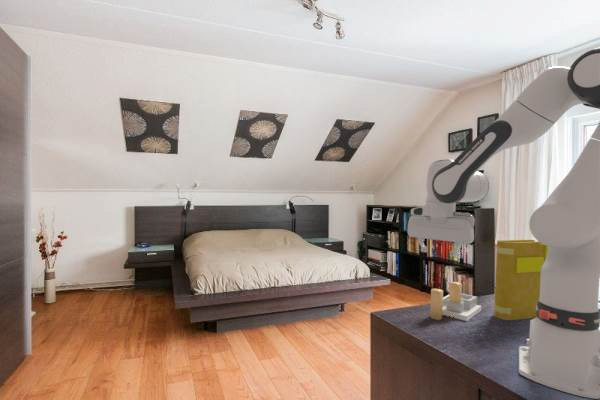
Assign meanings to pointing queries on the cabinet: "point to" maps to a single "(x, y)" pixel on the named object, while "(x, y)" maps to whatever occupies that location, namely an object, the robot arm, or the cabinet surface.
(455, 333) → the cabinet surface
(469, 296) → the housing
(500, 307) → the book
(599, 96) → the robot arm
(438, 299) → the tan wooden block
